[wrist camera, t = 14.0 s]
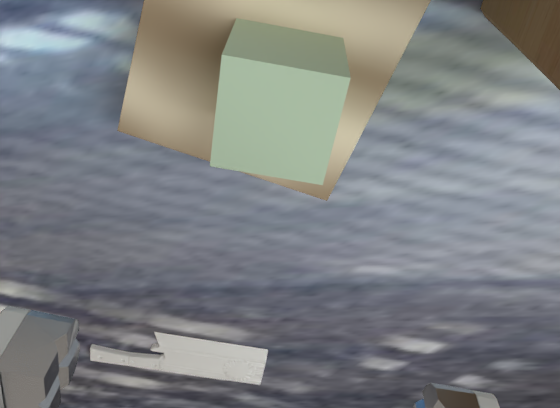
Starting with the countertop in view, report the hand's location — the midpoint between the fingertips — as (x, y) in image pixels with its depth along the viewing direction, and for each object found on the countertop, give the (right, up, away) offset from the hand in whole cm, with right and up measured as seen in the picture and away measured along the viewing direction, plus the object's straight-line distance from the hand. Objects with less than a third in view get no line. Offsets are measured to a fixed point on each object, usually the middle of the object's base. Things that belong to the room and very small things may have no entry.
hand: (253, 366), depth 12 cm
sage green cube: (+1, +10, +13) cm, 17 cm away
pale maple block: (0, +13, +17) cm, 22 cm away
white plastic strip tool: (-8, -9, +33) cm, 35 cm away
